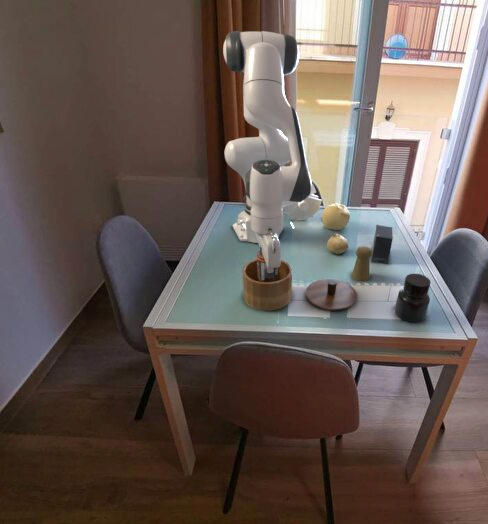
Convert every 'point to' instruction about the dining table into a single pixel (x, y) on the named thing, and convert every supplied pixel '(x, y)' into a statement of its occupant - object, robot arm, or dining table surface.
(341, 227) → the beige round lump
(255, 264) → the round wooden box
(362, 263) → the tan pawn
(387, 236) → the small box
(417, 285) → the ink bottle
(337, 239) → the onion
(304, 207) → the spiral staircase
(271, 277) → the supplement bottle
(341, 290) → the lid
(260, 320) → the dining table surface
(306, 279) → the dining table surface
